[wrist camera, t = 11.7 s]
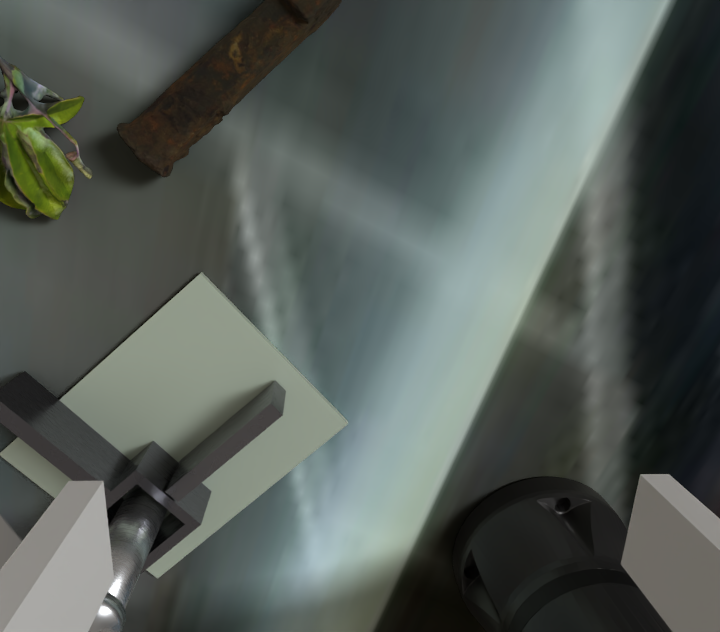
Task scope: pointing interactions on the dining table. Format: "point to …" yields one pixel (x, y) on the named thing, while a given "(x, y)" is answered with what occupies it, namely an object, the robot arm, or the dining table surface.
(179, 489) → the bolted dark bar
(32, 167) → the passion flower
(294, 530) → the dining table surface
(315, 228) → the dining table surface
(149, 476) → the hinge base
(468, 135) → the dining table surface
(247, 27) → the hand tool
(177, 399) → the mat
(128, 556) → the hinge pin
